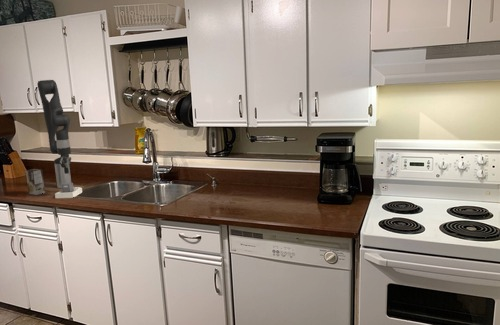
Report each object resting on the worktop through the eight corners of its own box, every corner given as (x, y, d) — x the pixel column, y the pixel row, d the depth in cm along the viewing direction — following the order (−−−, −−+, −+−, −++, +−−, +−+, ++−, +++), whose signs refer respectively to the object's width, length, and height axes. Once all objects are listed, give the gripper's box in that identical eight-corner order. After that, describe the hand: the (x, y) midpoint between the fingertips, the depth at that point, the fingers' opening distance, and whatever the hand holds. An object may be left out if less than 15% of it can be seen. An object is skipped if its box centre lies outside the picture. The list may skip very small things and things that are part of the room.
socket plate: (65, 192, 249) (65, 187, 249) (82, 192, 250) (81, 186, 249) (55, 198, 236) (54, 192, 235) (73, 197, 236) (72, 192, 235)
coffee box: (45, 193, 250) (42, 169, 248) (36, 195, 245) (33, 171, 242) (37, 191, 255) (34, 168, 252) (28, 193, 249) (25, 170, 247)
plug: (66, 193, 244) (65, 182, 243) (74, 193, 244) (72, 182, 243) (62, 195, 239) (61, 184, 238) (70, 195, 239) (69, 184, 238)
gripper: (62, 145, 242) (65, 171, 246) (52, 148, 229) (56, 175, 233) (74, 144, 243) (77, 170, 246) (65, 148, 230) (68, 175, 233)
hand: (66, 173), depth 239 cm, fingers closed
